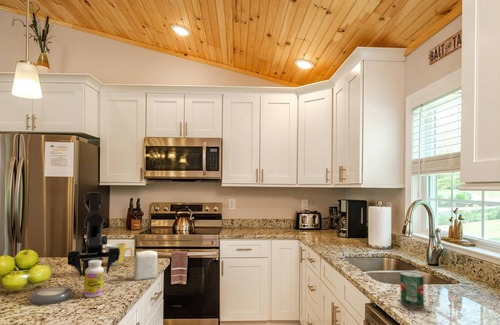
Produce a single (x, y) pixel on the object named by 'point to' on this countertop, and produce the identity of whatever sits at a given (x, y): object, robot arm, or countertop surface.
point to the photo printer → (145, 265)
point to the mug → (122, 251)
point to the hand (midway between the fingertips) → (94, 274)
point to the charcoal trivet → (50, 295)
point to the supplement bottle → (93, 279)
